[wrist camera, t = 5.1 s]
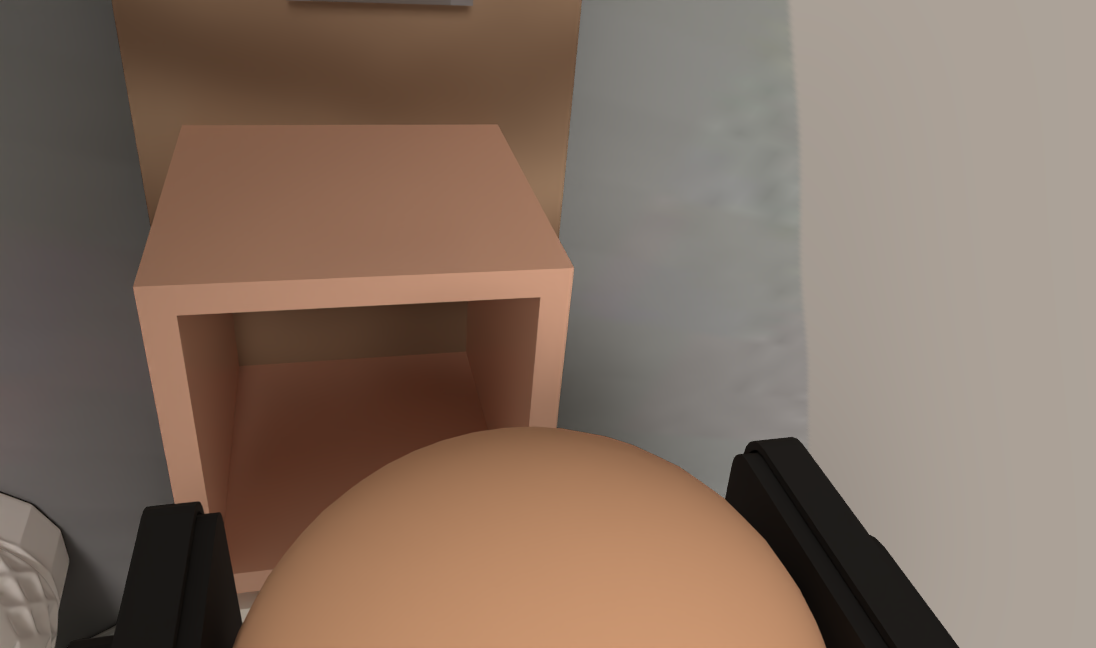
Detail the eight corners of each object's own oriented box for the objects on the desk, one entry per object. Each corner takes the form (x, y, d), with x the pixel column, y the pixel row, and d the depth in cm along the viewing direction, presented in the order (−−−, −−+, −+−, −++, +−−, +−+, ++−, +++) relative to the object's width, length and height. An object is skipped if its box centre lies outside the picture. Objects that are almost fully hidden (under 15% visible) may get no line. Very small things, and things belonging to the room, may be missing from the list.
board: (66, -324, 20) (43, -331, 18) (594, -268, 23) (619, -269, 21) (216, 573, 35) (212, 618, 33) (521, 538, 38) (532, 577, 36)
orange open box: (181, 125, 25) (132, 286, 17) (497, 124, 27) (574, 267, 19) (219, 385, 29) (193, 598, 22) (484, 366, 31) (542, 555, 24)
